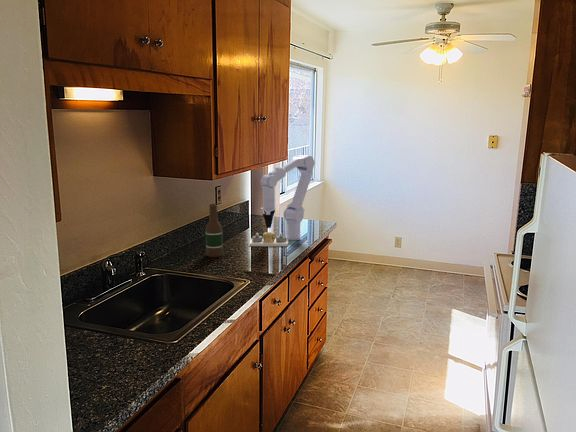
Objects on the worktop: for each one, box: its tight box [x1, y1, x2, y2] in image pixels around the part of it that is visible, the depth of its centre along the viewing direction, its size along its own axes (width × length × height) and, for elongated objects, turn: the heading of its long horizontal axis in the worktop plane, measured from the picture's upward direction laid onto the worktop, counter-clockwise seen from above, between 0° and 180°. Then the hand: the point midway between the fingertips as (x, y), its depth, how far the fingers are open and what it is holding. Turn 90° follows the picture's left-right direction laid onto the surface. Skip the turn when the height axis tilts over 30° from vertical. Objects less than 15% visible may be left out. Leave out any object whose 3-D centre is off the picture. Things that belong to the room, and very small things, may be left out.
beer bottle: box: [204, 203, 224, 258], centre depth 222 cm, size 8×8×24 cm
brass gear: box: [262, 231, 276, 242], centre depth 243 cm, size 6×6×4 cm
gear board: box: [249, 232, 289, 247], centre depth 243 cm, size 9×19×6 cm, turn 88°
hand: (269, 226), depth 242 cm, fingers open, 7 cm apart
